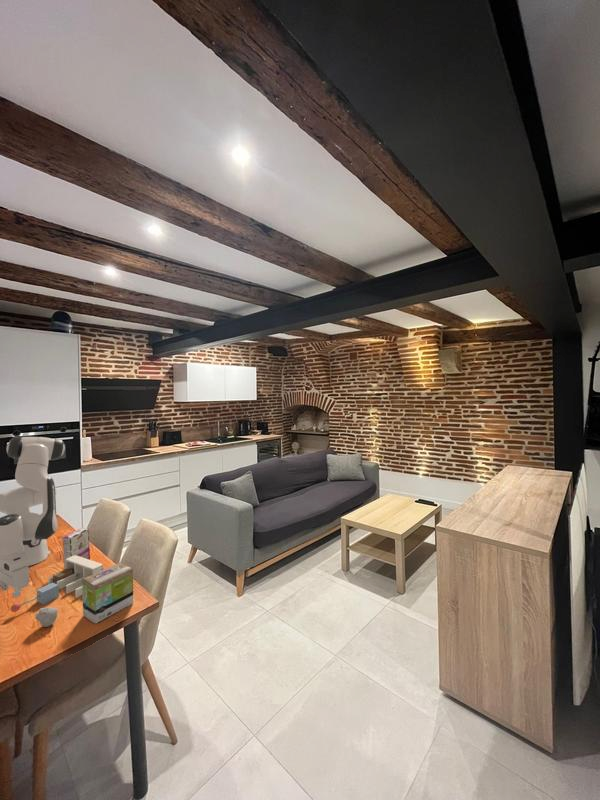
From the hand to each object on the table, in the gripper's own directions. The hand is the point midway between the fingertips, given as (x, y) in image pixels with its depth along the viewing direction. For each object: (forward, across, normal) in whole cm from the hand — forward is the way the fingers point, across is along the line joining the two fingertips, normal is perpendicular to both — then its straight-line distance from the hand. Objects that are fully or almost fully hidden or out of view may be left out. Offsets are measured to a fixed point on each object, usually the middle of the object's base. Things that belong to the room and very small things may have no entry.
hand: (10, 593), depth 132 cm
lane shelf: (+9, +1, +24) cm, 25 cm away
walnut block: (+9, -6, +22) cm, 24 cm away
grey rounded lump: (+8, +20, +3) cm, 22 cm away
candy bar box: (+10, -18, +34) cm, 40 cm away
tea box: (+8, +31, +19) cm, 38 cm away
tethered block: (+9, +1, +7) cm, 12 cm away
